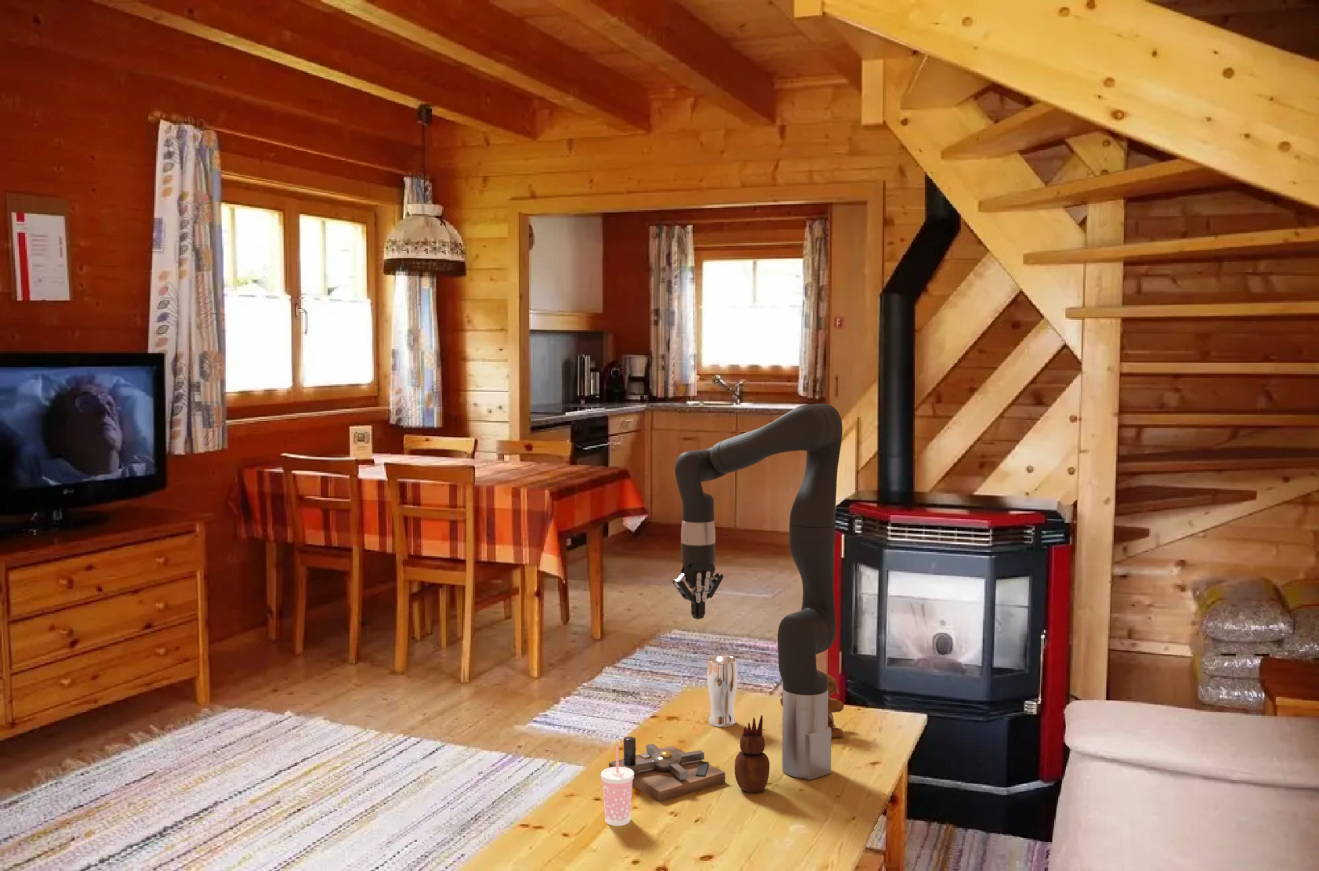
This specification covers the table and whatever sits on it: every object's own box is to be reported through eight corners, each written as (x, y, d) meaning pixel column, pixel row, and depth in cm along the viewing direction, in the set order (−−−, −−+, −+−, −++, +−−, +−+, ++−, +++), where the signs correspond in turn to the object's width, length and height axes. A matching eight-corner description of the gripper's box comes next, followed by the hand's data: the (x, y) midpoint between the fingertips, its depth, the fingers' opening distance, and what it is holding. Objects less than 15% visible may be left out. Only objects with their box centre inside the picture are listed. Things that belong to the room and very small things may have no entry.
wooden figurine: (773, 787, 215) (773, 713, 214) (763, 798, 210) (763, 722, 209) (741, 781, 218) (741, 708, 217) (730, 792, 213) (730, 717, 211)
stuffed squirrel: (846, 738, 241) (847, 680, 240) (783, 739, 241) (783, 681, 240) (839, 723, 251) (839, 667, 250) (778, 723, 251) (778, 667, 250)
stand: (726, 781, 218) (726, 770, 218) (659, 802, 208) (659, 790, 208) (673, 754, 232) (673, 743, 232) (608, 772, 223) (607, 761, 223)
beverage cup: (602, 813, 203) (601, 740, 202) (635, 813, 203) (634, 740, 202) (599, 827, 197) (599, 752, 196) (633, 828, 197) (632, 753, 196)
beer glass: (738, 728, 248) (738, 663, 247) (707, 728, 248) (707, 663, 247) (736, 717, 255) (736, 655, 254) (706, 717, 255) (706, 655, 254)
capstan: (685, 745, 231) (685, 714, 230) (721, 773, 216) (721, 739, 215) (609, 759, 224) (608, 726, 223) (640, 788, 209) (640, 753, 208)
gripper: (684, 546, 232) (684, 626, 233) (732, 540, 240) (732, 617, 241) (663, 541, 238) (664, 619, 240) (711, 535, 246) (711, 610, 247)
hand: (698, 618), depth 240 cm, fingers closed
